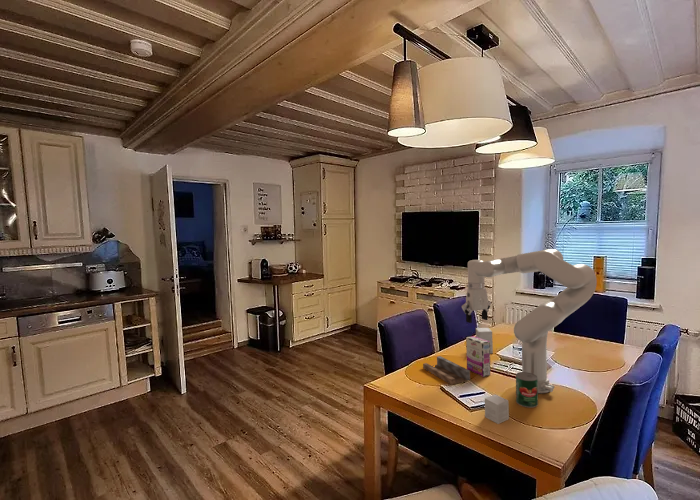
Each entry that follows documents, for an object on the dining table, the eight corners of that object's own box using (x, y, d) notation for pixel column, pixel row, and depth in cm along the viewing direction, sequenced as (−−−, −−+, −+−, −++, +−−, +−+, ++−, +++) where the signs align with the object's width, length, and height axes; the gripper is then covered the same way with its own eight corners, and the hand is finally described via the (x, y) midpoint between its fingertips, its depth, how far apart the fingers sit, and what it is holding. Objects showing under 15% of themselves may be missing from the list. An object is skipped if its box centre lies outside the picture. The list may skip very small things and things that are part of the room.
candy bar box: (491, 375, 172) (490, 341, 171) (483, 377, 170) (482, 343, 169) (474, 367, 182) (473, 335, 181) (466, 369, 180) (465, 337, 179)
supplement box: (489, 349, 207) (488, 327, 206) (493, 353, 199) (492, 331, 198) (475, 349, 207) (475, 327, 206) (479, 353, 200) (478, 331, 199)
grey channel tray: (470, 380, 167) (469, 370, 167) (451, 385, 163) (451, 375, 163) (440, 364, 188) (439, 356, 187) (423, 368, 183) (422, 359, 183)
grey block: (495, 412, 138) (495, 393, 138) (509, 419, 133) (509, 400, 133) (484, 417, 135) (484, 398, 135) (498, 424, 130) (497, 404, 130)
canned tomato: (525, 409, 140) (525, 381, 139) (511, 400, 147) (511, 373, 147) (542, 405, 142) (542, 378, 141) (527, 396, 149) (527, 370, 149)
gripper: (467, 288, 166) (468, 325, 167) (495, 285, 173) (496, 320, 174) (456, 286, 173) (457, 321, 174) (484, 283, 180) (484, 316, 181)
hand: (476, 320), depth 174 cm, fingers open, 9 cm apart
